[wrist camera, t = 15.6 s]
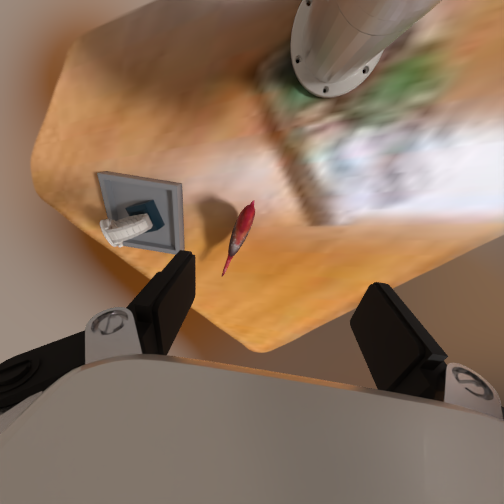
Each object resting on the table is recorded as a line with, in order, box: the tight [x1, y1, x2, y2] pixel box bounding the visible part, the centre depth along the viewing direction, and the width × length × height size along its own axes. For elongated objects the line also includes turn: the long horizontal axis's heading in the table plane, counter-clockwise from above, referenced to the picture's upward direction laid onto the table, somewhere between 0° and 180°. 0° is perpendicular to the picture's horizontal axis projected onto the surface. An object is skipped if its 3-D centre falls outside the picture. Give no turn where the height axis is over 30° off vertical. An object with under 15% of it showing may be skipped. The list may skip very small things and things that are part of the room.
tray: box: [97, 171, 184, 254], centre depth 41 cm, size 15×15×2 cm
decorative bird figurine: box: [222, 200, 255, 276], centre depth 38 cm, size 3×18×10 cm, turn 158°
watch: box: [100, 200, 165, 247], centre depth 37 cm, size 6×8×11 cm
